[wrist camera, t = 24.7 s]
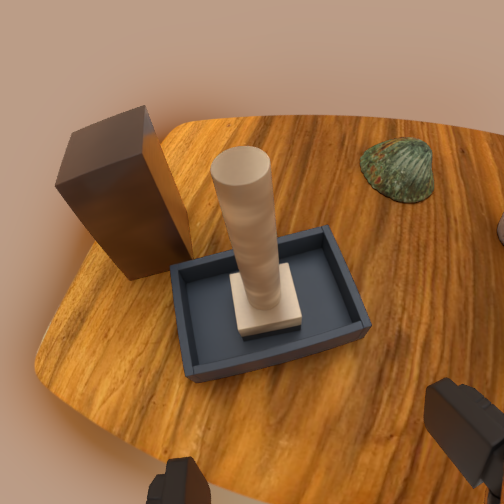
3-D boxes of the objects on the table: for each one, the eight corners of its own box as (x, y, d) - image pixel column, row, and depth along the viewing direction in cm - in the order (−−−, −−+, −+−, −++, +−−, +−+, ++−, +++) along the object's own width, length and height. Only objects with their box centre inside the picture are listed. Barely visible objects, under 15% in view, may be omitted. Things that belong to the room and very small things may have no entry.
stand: (129, 281, 30) (54, 186, 19) (129, 228, 34) (71, 132, 23) (194, 264, 31) (141, 153, 19) (187, 211, 35) (145, 104, 23)
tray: (196, 383, 24) (184, 376, 22) (179, 282, 30) (169, 265, 27) (363, 337, 25) (372, 325, 22) (325, 243, 30) (328, 224, 28)
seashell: (349, 130, 33) (410, 116, 34) (344, 155, 37) (403, 138, 38) (403, 193, 28) (462, 170, 30) (392, 217, 32) (449, 191, 33)
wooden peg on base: (243, 341, 25) (187, 217, 12) (234, 290, 28) (184, 143, 15) (301, 329, 25) (310, 192, 12) (288, 279, 28) (281, 124, 15)
